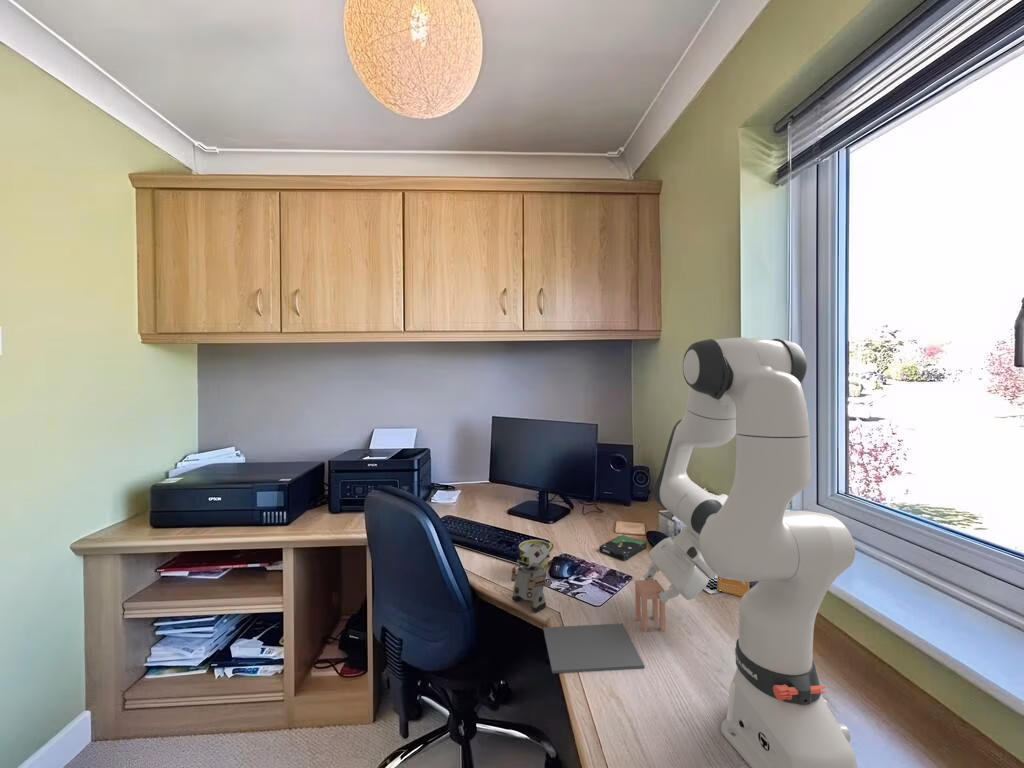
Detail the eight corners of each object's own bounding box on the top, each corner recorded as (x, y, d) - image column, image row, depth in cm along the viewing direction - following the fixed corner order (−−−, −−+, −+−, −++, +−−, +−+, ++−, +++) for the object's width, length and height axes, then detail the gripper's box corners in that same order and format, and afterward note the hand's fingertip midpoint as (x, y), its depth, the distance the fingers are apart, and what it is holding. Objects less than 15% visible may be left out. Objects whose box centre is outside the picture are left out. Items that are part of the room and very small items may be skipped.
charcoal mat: (644, 668, 91) (644, 665, 91) (552, 673, 90) (552, 670, 90) (622, 625, 106) (622, 623, 106) (543, 629, 105) (543, 627, 105)
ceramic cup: (534, 589, 124) (533, 556, 124) (512, 577, 132) (511, 545, 131) (564, 575, 132) (564, 543, 132) (542, 564, 140) (542, 534, 140)
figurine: (559, 599, 119) (559, 547, 118) (531, 616, 111) (530, 560, 110) (536, 587, 125) (535, 537, 125) (507, 602, 117) (506, 549, 117)
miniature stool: (665, 630, 104) (664, 590, 103) (643, 631, 104) (642, 591, 103) (656, 617, 109) (656, 579, 109) (635, 618, 109) (635, 580, 109)
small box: (717, 591, 121) (717, 547, 121) (718, 581, 127) (718, 538, 126) (749, 598, 117) (749, 552, 117) (749, 588, 123) (749, 544, 122)
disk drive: (625, 563, 141) (647, 549, 151) (624, 555, 141) (647, 541, 151) (598, 554, 148) (621, 540, 159) (598, 546, 148) (621, 533, 158)
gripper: (665, 526, 116) (630, 562, 116) (702, 559, 96) (660, 603, 96) (681, 541, 117) (646, 577, 117) (721, 577, 96) (679, 621, 96)
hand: (653, 589), depth 106 cm, fingers open, 8 cm apart
